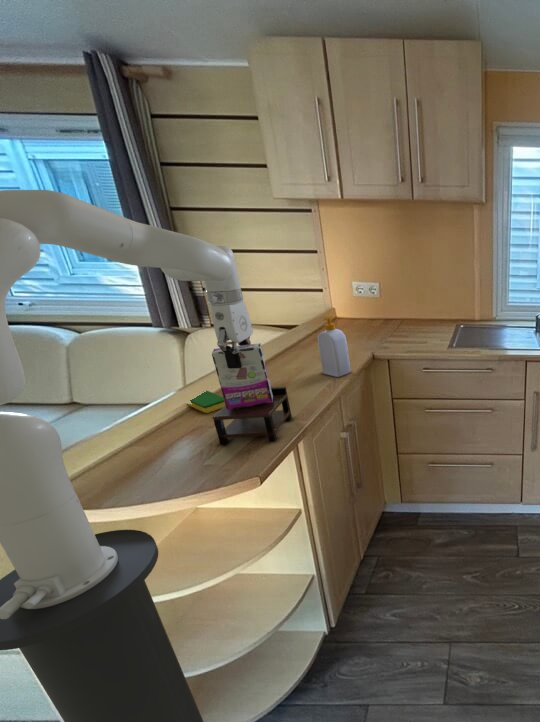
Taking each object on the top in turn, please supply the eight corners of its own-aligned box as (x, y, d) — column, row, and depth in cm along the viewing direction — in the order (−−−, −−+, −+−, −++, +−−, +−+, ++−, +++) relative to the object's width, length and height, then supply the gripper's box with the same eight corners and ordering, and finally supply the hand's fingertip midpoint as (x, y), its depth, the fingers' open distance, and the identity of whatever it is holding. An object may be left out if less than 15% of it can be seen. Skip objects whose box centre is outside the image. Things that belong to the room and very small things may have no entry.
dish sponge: (206, 413, 127) (204, 406, 126) (185, 404, 134) (183, 397, 133) (229, 405, 133) (228, 398, 132) (208, 396, 140) (206, 390, 139)
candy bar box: (273, 396, 118) (261, 342, 112) (273, 403, 114) (261, 347, 108) (228, 404, 113) (213, 347, 107) (226, 411, 109) (210, 352, 103)
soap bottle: (352, 372, 162) (345, 316, 154) (338, 377, 157) (329, 319, 148) (337, 368, 166) (328, 313, 158) (322, 373, 161) (313, 316, 152)
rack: (275, 441, 111) (267, 407, 108) (220, 444, 110) (210, 410, 106) (292, 418, 124) (285, 387, 121) (243, 421, 123) (235, 389, 119)
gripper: (224, 302, 95) (241, 374, 101) (255, 291, 111) (268, 353, 118) (189, 303, 94) (209, 375, 101) (226, 291, 110) (241, 354, 117)
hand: (241, 363), depth 109 cm, fingers closed on candy bar box, 6 cm apart
